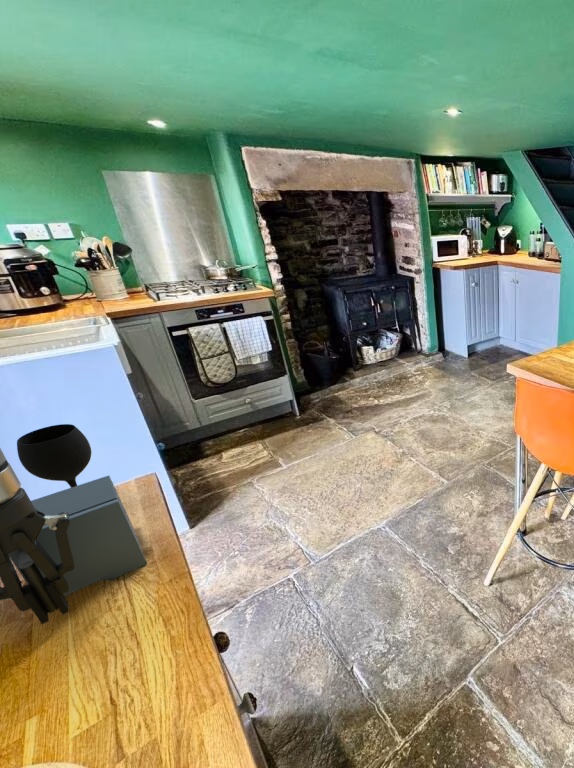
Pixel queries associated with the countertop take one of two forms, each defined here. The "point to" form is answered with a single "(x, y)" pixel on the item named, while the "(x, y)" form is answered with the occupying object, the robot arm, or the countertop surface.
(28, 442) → the wine glass
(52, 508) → the cupboard
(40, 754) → the countertop surface
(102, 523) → the cupboard door
